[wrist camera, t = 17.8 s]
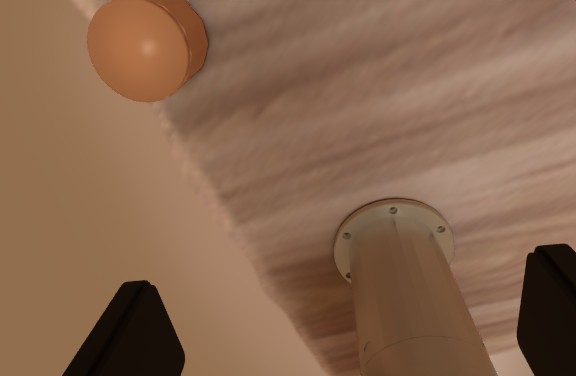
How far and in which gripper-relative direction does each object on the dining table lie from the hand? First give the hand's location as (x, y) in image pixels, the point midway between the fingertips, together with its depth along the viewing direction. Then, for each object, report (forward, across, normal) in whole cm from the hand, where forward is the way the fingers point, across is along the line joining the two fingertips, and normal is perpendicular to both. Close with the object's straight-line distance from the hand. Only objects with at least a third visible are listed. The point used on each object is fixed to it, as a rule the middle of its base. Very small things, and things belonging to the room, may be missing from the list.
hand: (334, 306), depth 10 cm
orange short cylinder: (+26, +13, -5) cm, 30 cm away
